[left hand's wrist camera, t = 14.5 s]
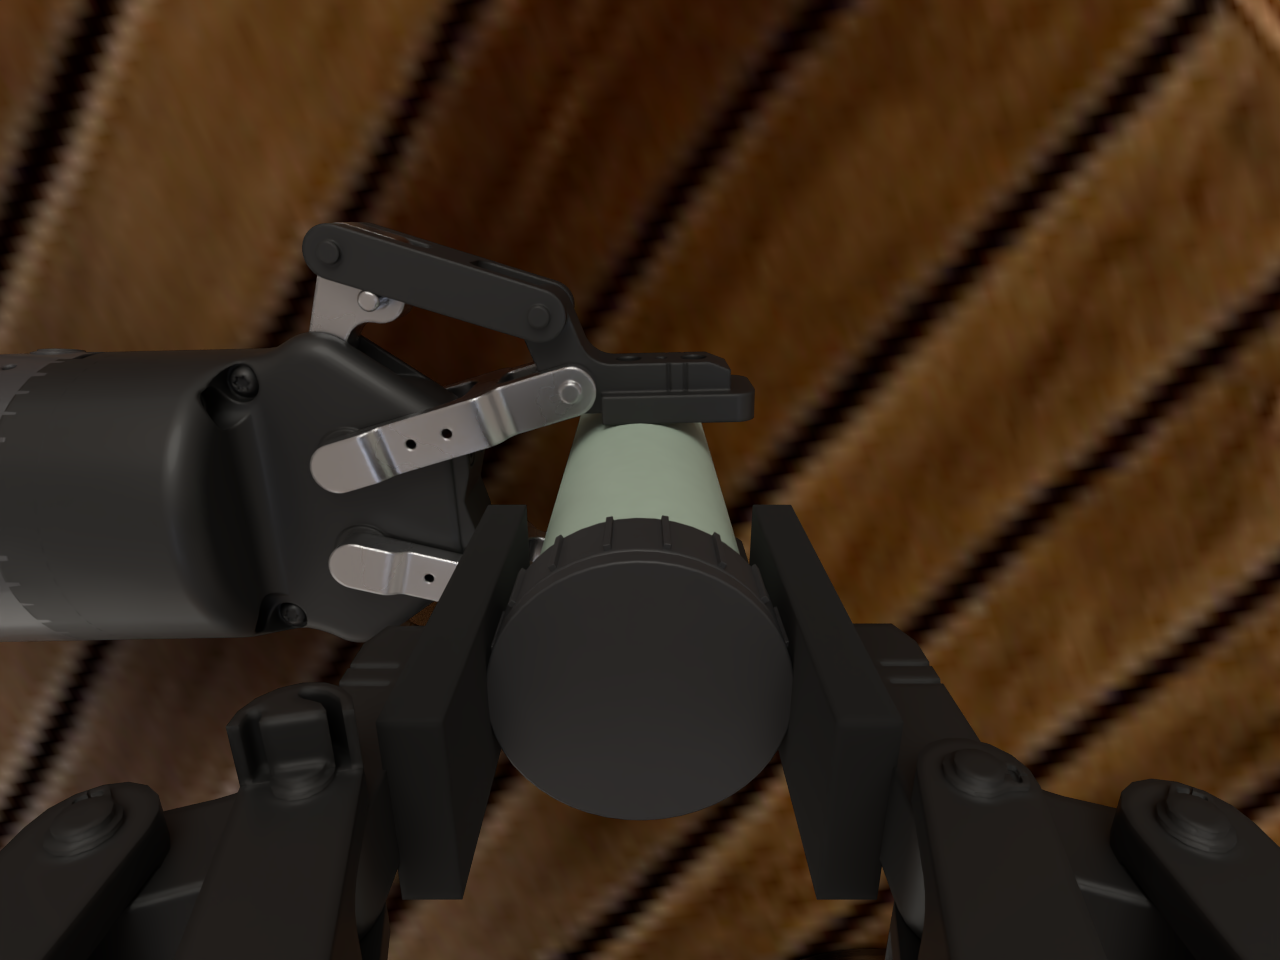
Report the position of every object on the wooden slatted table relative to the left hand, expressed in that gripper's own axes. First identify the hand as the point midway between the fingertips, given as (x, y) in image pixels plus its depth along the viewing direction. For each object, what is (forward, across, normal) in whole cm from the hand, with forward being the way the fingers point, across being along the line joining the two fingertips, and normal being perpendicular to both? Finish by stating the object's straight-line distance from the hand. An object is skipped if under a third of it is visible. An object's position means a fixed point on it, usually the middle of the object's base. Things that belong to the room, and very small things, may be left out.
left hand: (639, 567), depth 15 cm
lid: (-4, 0, 0) cm, 4 cm away
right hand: (+5, -3, 0) cm, 5 cm away
